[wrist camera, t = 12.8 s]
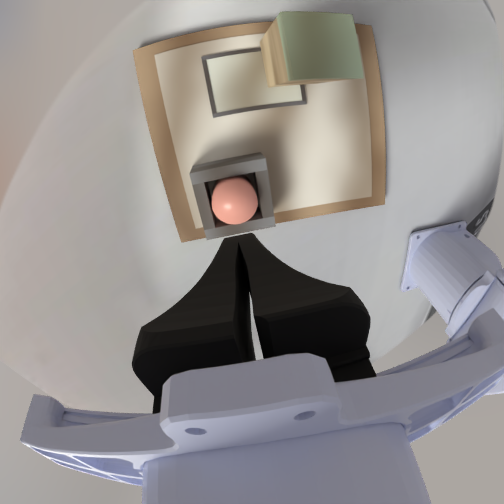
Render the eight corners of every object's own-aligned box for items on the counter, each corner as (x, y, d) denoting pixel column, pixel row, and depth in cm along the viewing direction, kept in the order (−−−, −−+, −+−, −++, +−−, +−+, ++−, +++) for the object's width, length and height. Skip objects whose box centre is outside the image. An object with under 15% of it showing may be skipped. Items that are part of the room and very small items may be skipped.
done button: (249, 168, 19) (253, 177, 17) (256, 205, 21) (260, 219, 18) (208, 176, 19) (207, 187, 17) (217, 213, 21) (217, 228, 18)
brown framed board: (367, 27, 14) (387, 20, 12) (381, 201, 23) (398, 215, 20) (135, 51, 14) (121, 44, 11) (182, 239, 22) (178, 258, 20)
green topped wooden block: (309, 39, 14) (352, 14, 8) (317, 83, 16) (363, 78, 10) (259, 42, 14) (280, 11, 8) (268, 87, 16) (293, 79, 10)
